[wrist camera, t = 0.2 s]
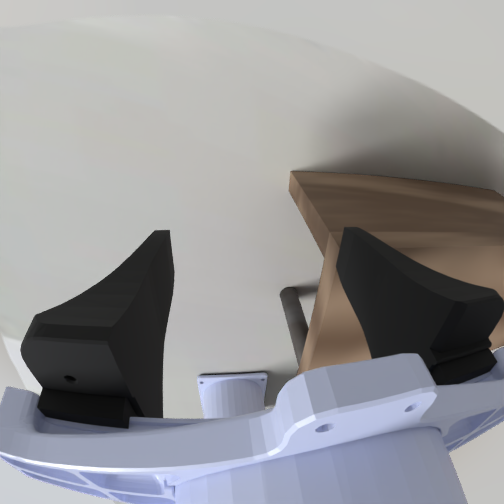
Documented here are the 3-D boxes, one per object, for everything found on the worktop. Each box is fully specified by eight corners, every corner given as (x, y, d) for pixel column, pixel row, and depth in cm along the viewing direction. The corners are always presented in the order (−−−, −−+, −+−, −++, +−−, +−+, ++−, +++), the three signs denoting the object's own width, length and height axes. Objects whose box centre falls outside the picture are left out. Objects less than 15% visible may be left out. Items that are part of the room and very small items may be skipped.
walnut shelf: (458, 284, 31) (504, 345, 22) (276, 300, 28) (299, 396, 20) (494, 190, 24) (561, 243, 16) (290, 171, 21) (340, 249, 13)
